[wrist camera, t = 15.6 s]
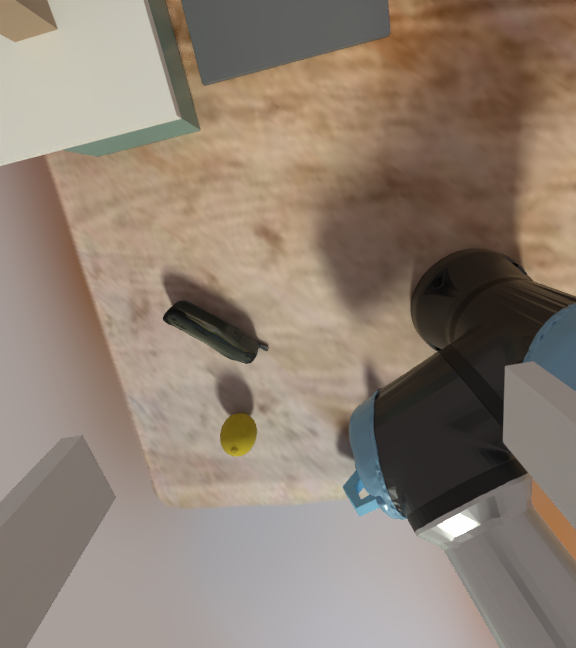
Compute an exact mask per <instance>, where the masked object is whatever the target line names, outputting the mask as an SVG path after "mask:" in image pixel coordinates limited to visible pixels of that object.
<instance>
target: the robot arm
mask: <svg viewBox="0 0 576 648" xmlns="http://www.w3.org/2000/svg"><path fill="white" fill-rule="evenodd" d="M411 316H412V321H413V324H414V327H415V329H416V331H417V332H418V334H419V335H420V336H421V337H422V339H423V340H424V341H425V342H426V343H427V344H428V345H429V346H430V347H431V348H433V349H434V350H436V351H437V353H435V354H434V355H432V356H431V357H429V358H428V359H426V360H425V361H423V362H422V363H420V364H419V365H417V366H416V367H414V368H413V369H411V370H410V371H408V372H407V373H405V374H404V375H402V376H401V377H399V378H398V379H396V380H395V381H393V382H392V383H390V384H389V385H387V386H385V387H384V388H381V389H378V390H377V391H376V392H375V393H374V394H373V396H371V397H370V398H369V399H368V400H366V401H365V402H364V403H362V404H361V405H360V406H358V407H357V408H356V409H355V410H354V411H353V413H352V415H351V418H350V425H349V438H350V444H351V448H352V452H353V455H354V459H355V462H356V464H357V467H358V469H359V472H360V474H361V477H362V479H363V481H364V483H365V485H366V487H367V489H368V490H369V492H370V494H371V495H372V496H375V499H376V501H377V504H378V506H379V507H380V508H381V509H382V510H383V512H385V513H386V514H387V515H388V516H390V517H391V518H394V519H402V520H403V519H406V518H407V519H408V521H409V522H410V525H411V526H412V528H413V530H414V532H415V533H416V535H417V536H418V537H420V538H422V539H425V540H427V541H429V542H432V543H434V544H436V545H438V546H439V547H440V548H442V549H443V550H444V551H445V553H446V555H447V557H448V558H449V560H450V562H451V564H452V565H453V567H454V569H455V571H456V572H457V574H458V576H459V578H460V579H461V581H462V583H463V585H464V586H465V588H466V590H467V592H468V593H469V595H470V597H471V599H472V600H473V602H474V604H475V606H476V607H477V609H478V611H479V612H480V614H481V616H482V617H483V619H484V621H485V623H486V625H487V626H488V628H489V630H490V631H491V633H492V635H493V637H494V638H495V640H496V642H497V644H498V646H499V647H500V648H576V561H575V559H574V558H573V557H572V556H571V555H570V553H569V552H568V550H567V549H566V548H565V547H564V545H563V544H562V543H561V541H560V540H559V539H558V538H557V536H556V535H555V534H554V532H553V531H552V530H551V529H550V527H549V526H548V525H547V523H546V522H545V521H544V520H543V518H542V517H541V516H540V514H539V513H538V512H537V511H536V509H535V508H534V506H533V504H532V501H531V495H532V478H533V479H534V480H535V481H536V483H537V484H538V485H539V486H540V487H541V489H542V490H543V491H544V492H545V493H546V495H547V496H548V497H549V498H550V499H551V501H552V502H553V503H554V504H555V505H556V507H557V508H558V509H559V510H560V511H561V513H562V514H563V515H564V516H565V517H566V519H567V520H568V521H569V522H570V524H571V525H572V526H573V527H574V528H575V529H576V296H573V295H570V294H567V293H565V292H562V291H559V290H556V289H553V288H550V287H548V286H545V285H542V284H539V283H536V282H534V281H533V280H532V279H531V278H530V277H529V276H528V275H527V273H526V272H525V271H524V269H523V268H522V267H521V266H520V265H519V264H518V263H517V262H516V261H514V260H513V259H511V258H509V257H507V256H505V255H503V254H500V253H497V252H493V251H490V250H484V249H469V250H463V251H459V252H456V253H454V254H451V255H449V256H447V257H445V258H443V259H442V260H440V261H439V262H437V263H436V264H435V265H433V266H432V267H431V268H430V269H429V270H428V271H427V272H426V273H425V275H424V276H423V277H422V279H421V280H420V282H419V283H418V285H417V287H416V289H415V292H414V295H413V298H412V304H411ZM115 498H116V496H115V494H114V492H113V490H112V489H111V487H110V485H109V483H108V481H107V479H106V477H105V476H104V474H103V472H102V470H101V468H100V466H99V465H98V463H97V461H96V459H95V457H94V455H93V453H92V451H91V450H90V448H89V446H88V444H87V442H86V440H85V438H84V437H83V435H82V436H75V437H70V438H63V439H61V440H60V441H59V442H58V443H57V444H56V445H55V446H54V447H53V448H52V449H51V450H50V451H49V452H48V453H47V454H46V455H45V456H44V458H42V459H41V460H40V461H39V463H38V464H37V465H36V466H35V467H34V468H33V469H32V470H31V471H30V472H29V473H28V474H27V475H26V476H25V477H24V478H23V479H22V480H21V481H20V482H19V483H18V484H17V485H16V486H15V487H14V488H13V489H12V490H11V492H10V493H9V494H8V495H7V496H6V497H5V498H4V499H3V500H2V501H1V502H0V648H26V647H27V645H28V644H29V642H30V640H31V639H32V637H33V635H34V633H35V632H36V630H37V628H38V627H39V625H40V623H41V622H42V620H43V618H44V617H45V615H46V613H47V612H48V610H49V608H50V607H51V605H52V603H53V602H54V600H55V598H56V597H57V595H58V593H59V592H60V590H61V588H62V587H63V585H64V583H65V582H66V580H67V578H68V577H69V575H70V573H71V572H72V570H73V568H74V567H75V564H76V563H77V562H78V560H79V558H80V556H81V555H82V553H83V551H84V550H85V548H86V546H87V545H88V543H89V542H90V540H91V538H92V537H93V535H94V533H95V531H96V530H97V528H98V526H99V525H100V523H101V521H102V520H103V518H104V516H105V515H106V513H107V511H108V510H109V508H110V506H111V505H112V503H113V501H114V500H115Z"/></svg>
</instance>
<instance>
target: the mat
mask: <svg viewBox="0 0 576 648" xmlns="http://www.w3.org/2000/svg"><path fill="white" fill-rule="evenodd" d="M181 2H182V5H183V9H184V13H185V17H186V21H187V25H188V29H189V33H190V37H191V41H192V45H193V49H194V52H195V56H196V60H197V64H198V68H199V72H200V76H201V80H202V84H203V85H204V86H206V85H210V84H213V83H217V82H221V81H224V80H228V79H232V78H236V77H239V76H243V75H247V74H251V73H254V72H258V71H262V70H265V69H269V68H273V67H277V66H280V65H284V64H288V63H291V62H295V61H299V60H303V59H306V58H310V57H314V56H318V55H321V54H325V53H329V52H332V51H336V50H340V49H344V48H347V47H351V46H355V45H358V44H362V43H366V42H370V41H373V40H377V39H381V38H385V37H388V36H389V35H390V21H389V9H388V0H181Z"/></svg>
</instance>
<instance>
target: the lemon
mask: <svg viewBox="0 0 576 648" xmlns="http://www.w3.org/2000/svg"><path fill="white" fill-rule="evenodd" d="M256 435H257V428H256V424H255V422H254V420H253V419H252V418H251V417H250V416H249V415H247V414H245V413H236V414H233V415H231V416H230V417H229V418H228V419H227V420H226V421H225V422H224V424H223V426H222V429H221V433H220V441H221V445H222V448H223V449H224V451H225V452H226V453H228V454H229V455H232V456H242V455H244V454H246V453H247V452H249V451H250V449H251V448H252V447H253V445H254V443H255V440H256Z"/></svg>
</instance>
